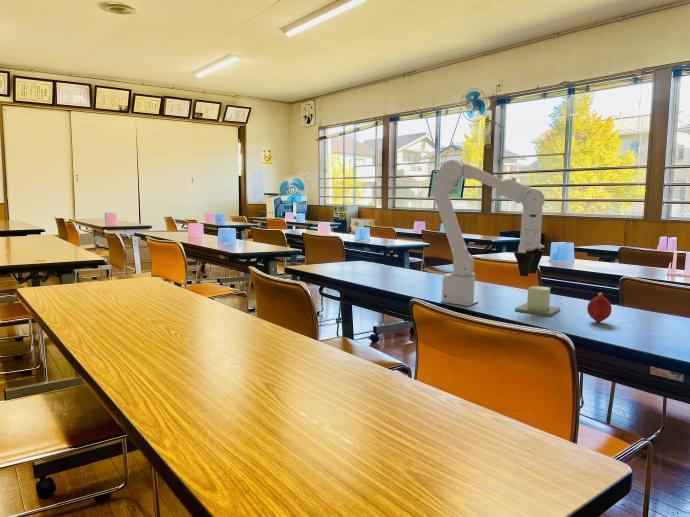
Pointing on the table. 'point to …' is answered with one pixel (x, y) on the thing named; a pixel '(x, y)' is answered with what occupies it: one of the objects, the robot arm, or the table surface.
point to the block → (538, 298)
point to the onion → (599, 308)
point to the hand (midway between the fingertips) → (528, 274)
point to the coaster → (548, 312)
